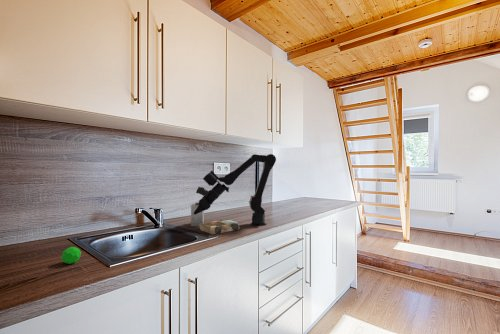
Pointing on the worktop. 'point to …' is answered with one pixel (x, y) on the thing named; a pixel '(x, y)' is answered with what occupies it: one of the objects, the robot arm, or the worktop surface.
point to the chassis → (219, 226)
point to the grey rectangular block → (196, 215)
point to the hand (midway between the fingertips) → (194, 212)
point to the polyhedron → (71, 255)
